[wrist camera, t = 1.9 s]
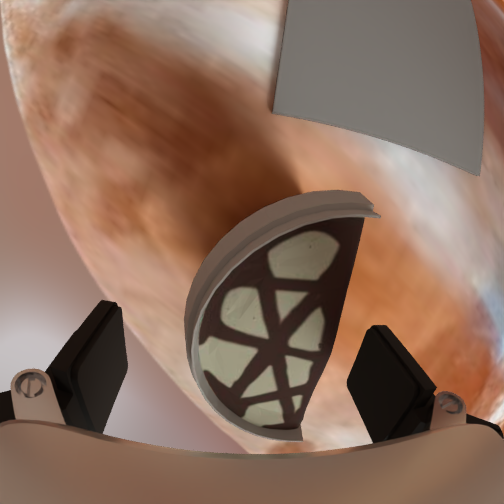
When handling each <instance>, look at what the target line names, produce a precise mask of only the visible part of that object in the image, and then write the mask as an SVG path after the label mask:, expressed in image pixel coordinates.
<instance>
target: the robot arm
mask: <svg viewBox="0 0 504 504" xmlns="http://www.w3.org/2000/svg"><path fill="white" fill-rule="evenodd" d="M127 369H128V361H127V355H126V346H125V337H124V328H123V317H122V309H121V307H118V305H117V303H116V302H111V301H105V300H101V301H100V302H99V303H98V305H97V306H96V307H95V308H94V310H93V311H92V312H91V313H90V315H89V316H88V317H87V318H86V320H85V321H84V322H83V323H82V325H81V326H80V327H79V329H78V330H76V331H75V332H74V333H73V335H72V336H71V337H70V339H69V340H68V341H67V343H66V344H65V345H64V347H63V348H62V349H61V350H60V352H59V353H58V355H57V356H56V357H55V359H54V360H53V361H52V363H51V364H50V366H49V367H48V368H47V370H46V371H45V372H44V371H41V370H39V369H26V370H23V371H21V372H19V373H17V374H16V375H15V376H14V378H13V379H12V382H11V390H9V391H6V392H2V393H0V504H504V436H503V433H502V431H501V428H500V427H499V426H498V425H496V424H493V423H491V422H488V421H485V420H482V419H479V418H477V417H474V416H471V415H469V414H466V405H465V403H464V401H463V400H462V399H461V397H459V396H458V395H456V394H454V393H452V392H448V391H442V392H439V393H438V394H437V395H436V396H435V395H434V394H433V393H434V391H435V390H436V388H437V387H436V386H435V384H434V383H433V382H432V381H431V379H430V378H429V377H428V375H427V374H426V373H425V372H424V370H423V369H422V368H421V367H420V365H419V364H418V363H417V362H416V360H415V359H414V358H413V357H412V355H411V354H410V353H409V352H408V351H407V349H406V348H405V347H404V346H403V344H402V343H401V342H400V341H399V340H398V338H397V337H396V336H395V335H394V334H393V332H392V331H391V330H390V329H389V328H388V327H387V326H386V325H373V326H372V327H371V328H370V329H368V330H367V331H366V334H365V337H364V339H363V342H362V344H361V347H360V350H359V352H358V355H357V357H356V360H355V362H354V364H353V367H352V369H351V372H350V374H349V376H348V379H347V387H348V390H349V392H350V394H351V396H352V398H353V400H354V402H355V405H356V407H357V409H358V411H359V413H360V415H361V418H362V420H363V422H364V424H365V426H366V428H367V431H368V433H369V435H370V437H371V439H372V442H373V444H368V445H362V446H356V447H350V448H343V449H335V450H327V451H317V452H306V453H290V454H228V453H213V452H201V451H190V450H183V449H175V448H169V447H162V446H156V445H151V444H145V443H140V442H135V441H129V440H125V439H121V438H116V437H112V436H108V435H104V434H103V431H104V428H105V426H106V423H107V420H108V418H109V415H110V413H111V410H112V407H113V404H114V402H115V400H116V397H117V395H118V392H119V390H120V387H121V385H122V382H123V380H124V378H125V375H126V373H127Z"/></svg>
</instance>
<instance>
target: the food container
mask: <svg viewBox="0 0 504 504" xmlns="http://www.w3.org/2000/svg"><path fill="white" fill-rule="evenodd" d="M373 207H374V205H373V204H372V203H371V202H370V201H369V200H368V199H367V198H366V197H365V196H363V195H362V194H361V193H360V192H352V191H343V190H328V191H313V192H308V193H304V194H300V195H296V196H292V197H288V198H285V199H283V200H280V201H278V202H276V203H273V204H271V205H268V206H265V207H263V208H262V209H260V210H258V211H257V212H255V213H253V214H251V215H250V216H248V217H246V218H245V219H244V220H243V221H241V222H240V223H239V224H237V225H236V226H235V227H234V228H233V229H232V230H231V231H229V232H228V233H227V234H226V235H225V236H224V237H223V238H222V239H220V241H219V242H218V243H217V244H216V246H215V247H214V248H213V249H212V251H211V252H210V253H209V254H208V255H207V257H206V258H205V259H204V261H203V263H202V265H201V267H200V268H199V270H198V272H197V274H196V276H195V277H194V279H193V282H192V285H191V288H190V291H189V294H188V297H187V301H186V308H185V316H184V327H185V341H186V351H187V359H188V362H189V366H190V369H191V373H192V375H193V377H194V379H195V381H196V383H197V385H198V387H199V389H200V391H201V393H202V395H203V396H204V398H205V400H206V401H207V402H208V403H209V405H210V406H211V407H212V408H213V409H214V411H215V412H216V413H218V414H219V415H220V416H221V417H222V418H224V419H225V420H226V421H227V422H229V423H230V424H232V425H234V426H235V427H237V428H239V429H241V430H243V431H245V432H248V433H250V434H253V435H255V436H259V437H263V438H267V439H271V440H278V441H286V442H303V437H302V431H301V425H300V424H301V422H302V420H303V417H304V413H305V410H306V407H307V405H308V403H309V400H310V398H311V396H312V393H313V391H314V389H315V387H316V385H317V383H318V381H319V379H320V377H321V375H322V373H323V371H324V368H325V366H326V364H327V362H328V359H329V357H330V355H331V352H332V349H333V345H334V342H335V338H336V334H337V330H338V326H339V322H340V317H341V313H342V309H343V305H344V301H345V297H346V293H347V289H348V285H349V281H350V278H351V274H352V270H353V266H354V262H355V258H356V254H357V250H358V246H359V241H360V237H361V233H362V228H363V223H364V219H365V218H364V217H372V218H381V216H380V215H379V214H377V213H375V212H373Z"/></svg>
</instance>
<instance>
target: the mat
mask: <svg viewBox="0 0 504 504" xmlns="http://www.w3.org/2000/svg"><path fill="white" fill-rule="evenodd" d="M272 114H277V115H283V116H288V117H294V118H299V119H304V120H309V121H314V122H318V123H323V124H327V125H331V126H335V127H339V128H343V129H347V130H351V131H355V132H359V133H362V134H366V135H369V136H373V137H376V138H379V139H382V140H386V141H389V142H392V143H395V144H398V145H401V146H404V147H407V148H410V149H412V150H415V151H418V152H421V153H423V154H426V155H429V156H431V157H434V158H436V159H439V160H441V161H444V162H446V163H448V164H451V165H453V166H455V167H458V168H460V169H462V170H464V171H467V172H469V173H471V174H473V175H475V176H480V170H481V161H482V150H483V135H484V85H483V70H482V59H481V51H480V43H479V37H478V31H477V25H476V20H475V15H474V11H473V7H472V3H471V0H288V7H287V14H286V21H285V28H284V34H283V41H282V48H281V55H280V62H279V69H278V76H277V83H276V89H275V96H274V103H273V110H272Z"/></svg>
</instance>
